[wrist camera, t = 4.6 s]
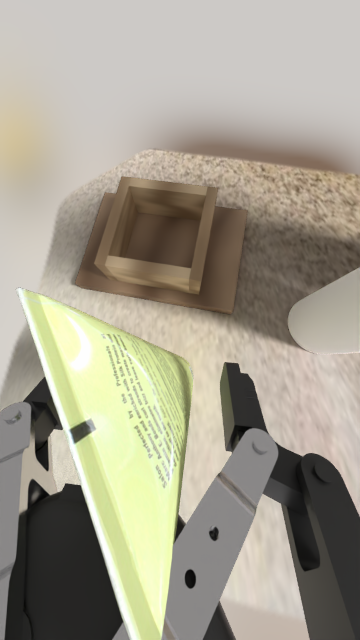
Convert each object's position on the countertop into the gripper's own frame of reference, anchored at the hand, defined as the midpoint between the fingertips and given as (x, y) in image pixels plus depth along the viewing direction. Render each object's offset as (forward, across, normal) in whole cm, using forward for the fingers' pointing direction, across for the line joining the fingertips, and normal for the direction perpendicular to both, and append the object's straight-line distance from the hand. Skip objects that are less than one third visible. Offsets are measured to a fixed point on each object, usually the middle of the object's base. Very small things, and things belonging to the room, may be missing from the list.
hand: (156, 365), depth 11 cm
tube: (+8, 0, +9) cm, 12 cm away
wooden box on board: (+19, +3, -2) cm, 19 cm away
